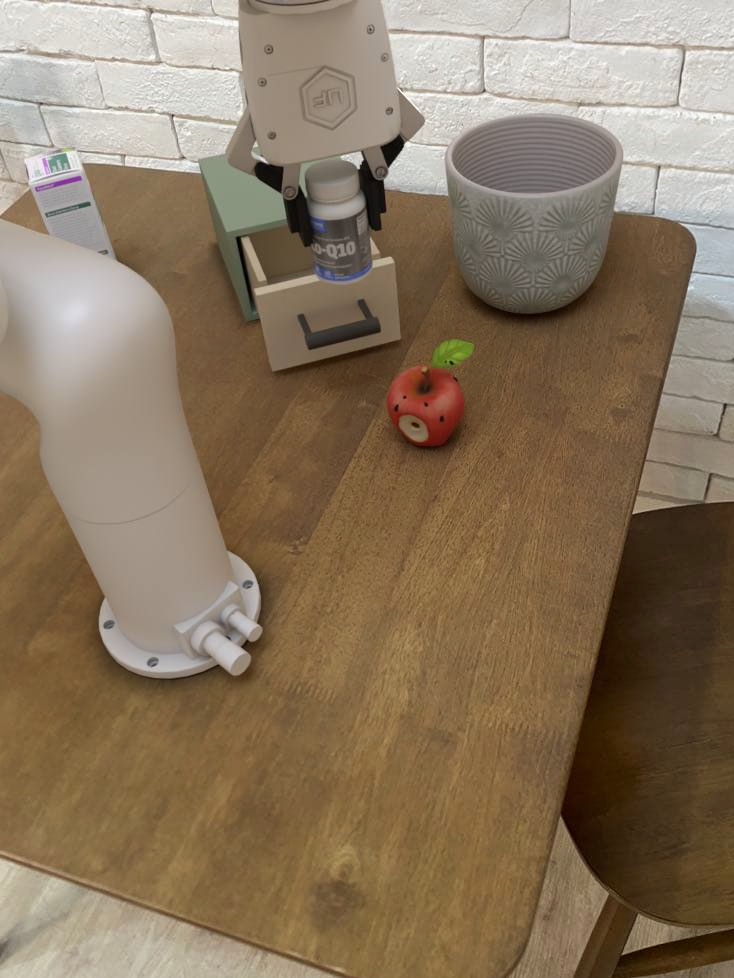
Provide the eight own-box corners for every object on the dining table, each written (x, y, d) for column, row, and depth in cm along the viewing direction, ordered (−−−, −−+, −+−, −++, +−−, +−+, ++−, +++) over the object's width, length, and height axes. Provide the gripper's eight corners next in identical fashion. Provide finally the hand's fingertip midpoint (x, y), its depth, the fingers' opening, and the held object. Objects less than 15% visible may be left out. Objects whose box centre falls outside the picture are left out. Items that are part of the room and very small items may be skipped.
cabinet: (376, 290, 102) (367, 199, 95) (246, 321, 100) (226, 231, 92) (336, 218, 113) (325, 131, 105) (218, 245, 111) (197, 158, 103)
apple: (418, 473, 83) (411, 384, 76) (377, 432, 87) (366, 344, 80) (487, 437, 86) (487, 348, 78) (444, 399, 90) (441, 311, 82)
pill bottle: (307, 285, 74) (289, 185, 68) (324, 252, 77) (309, 154, 71) (365, 290, 73) (352, 189, 67) (380, 256, 76) (369, 157, 70)
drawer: (416, 367, 92) (411, 289, 85) (284, 401, 89) (268, 324, 83) (358, 262, 105) (349, 188, 98) (241, 289, 103) (224, 215, 96)
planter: (606, 340, 94) (623, 198, 83) (439, 333, 97) (433, 194, 85) (609, 248, 105) (624, 112, 94) (459, 244, 108) (455, 111, 96)
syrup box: (127, 290, 106) (85, 166, 95) (74, 304, 104) (27, 181, 94) (118, 265, 109) (77, 143, 98) (67, 278, 108) (20, 157, 97)
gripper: (177, 12, 55) (240, 280, 69) (450, -39, 58) (458, 230, 71) (161, -28, 60) (223, 230, 74) (414, -73, 62) (428, 184, 76)
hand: (338, 227), depth 72 cm, fingers closed on pill bottle, 4 cm apart
